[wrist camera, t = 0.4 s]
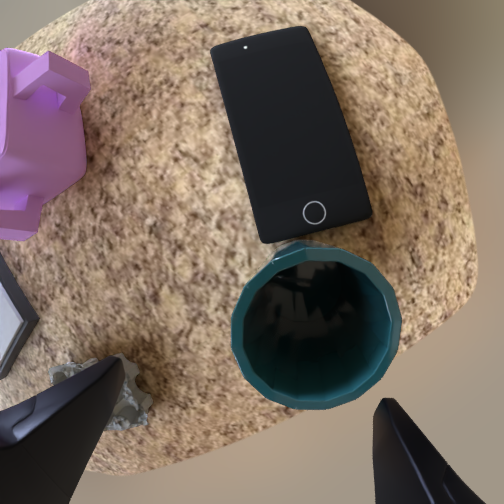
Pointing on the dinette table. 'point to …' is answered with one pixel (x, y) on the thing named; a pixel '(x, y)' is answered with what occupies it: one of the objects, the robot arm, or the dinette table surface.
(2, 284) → the scale
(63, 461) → the robot arm
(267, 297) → the tumbler
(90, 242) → the dinette table surface
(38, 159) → the teakettle
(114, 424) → the egg carton
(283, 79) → the cell phone
